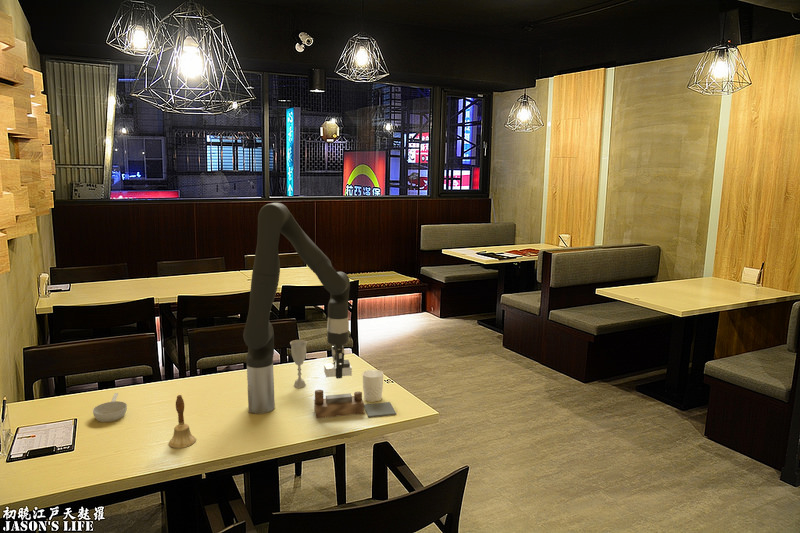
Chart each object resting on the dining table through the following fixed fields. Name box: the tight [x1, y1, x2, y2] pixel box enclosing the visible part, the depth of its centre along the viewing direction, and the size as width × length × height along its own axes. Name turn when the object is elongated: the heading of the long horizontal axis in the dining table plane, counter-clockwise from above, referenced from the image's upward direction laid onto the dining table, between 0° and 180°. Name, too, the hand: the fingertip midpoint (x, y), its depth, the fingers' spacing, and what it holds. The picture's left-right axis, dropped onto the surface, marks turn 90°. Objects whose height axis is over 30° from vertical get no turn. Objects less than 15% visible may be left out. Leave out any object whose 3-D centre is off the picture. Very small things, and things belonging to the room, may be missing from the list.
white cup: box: [361, 369, 384, 402], centre depth 221 cm, size 8×8×10 cm
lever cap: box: [323, 359, 353, 378], centre depth 206 cm, size 9×6×4 cm, turn 104°
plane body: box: [313, 389, 365, 419], centre depth 209 cm, size 17×7×8 cm, turn 104°
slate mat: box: [364, 401, 397, 418], centre depth 211 cm, size 10×10×1 cm
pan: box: [92, 392, 128, 423], centre depth 208 cm, size 11×18×4 cm, turn 16°
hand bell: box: [168, 394, 197, 449], centre depth 185 cm, size 8×8×16 cm
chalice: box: [289, 339, 308, 389], centre depth 232 cm, size 7×7×18 cm
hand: (337, 374), depth 207 cm, fingers closed on lever cap, 5 cm apart
